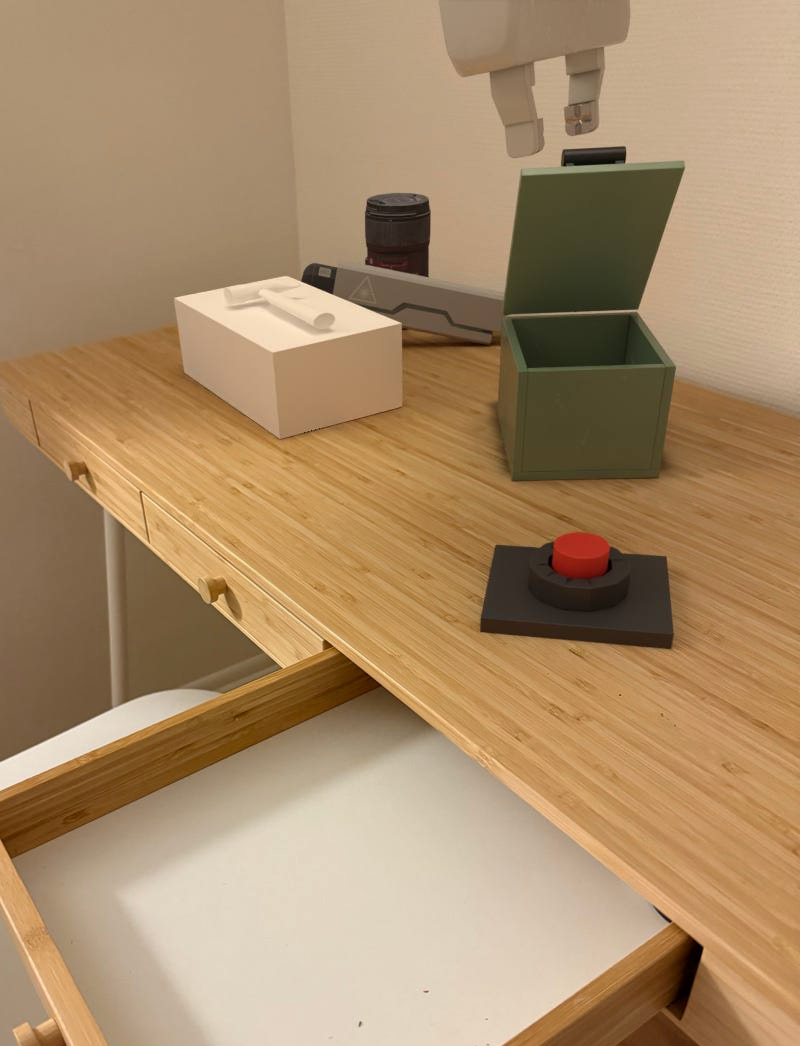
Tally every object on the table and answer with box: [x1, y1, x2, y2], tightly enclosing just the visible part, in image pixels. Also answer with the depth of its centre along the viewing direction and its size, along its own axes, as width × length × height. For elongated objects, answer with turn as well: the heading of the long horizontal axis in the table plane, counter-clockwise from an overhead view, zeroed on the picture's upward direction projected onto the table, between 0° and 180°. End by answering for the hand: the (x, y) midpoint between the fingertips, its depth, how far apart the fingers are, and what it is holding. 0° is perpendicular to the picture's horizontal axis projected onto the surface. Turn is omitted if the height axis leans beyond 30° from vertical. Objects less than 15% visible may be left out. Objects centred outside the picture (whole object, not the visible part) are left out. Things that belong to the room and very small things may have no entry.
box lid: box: [502, 145, 686, 316], centre depth 83 cm, size 16×13×5 cm
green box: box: [496, 311, 677, 482], centre depth 87 cm, size 16×13×10 cm
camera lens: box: [364, 192, 432, 330], centre depth 120 cm, size 8×8×15 cm
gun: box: [300, 259, 512, 346], centre depth 115 cm, size 2×25×10 cm, turn 85°
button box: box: [479, 541, 675, 650], centre depth 65 cm, size 12×10×4 cm
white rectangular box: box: [173, 275, 403, 440], centre depth 103 cm, size 14×25×11 cm, turn 29°
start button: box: [552, 531, 611, 579], centre depth 64 cm, size 4×4×2 cm
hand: (556, 144), depth 60 cm, fingers open, 8 cm apart
